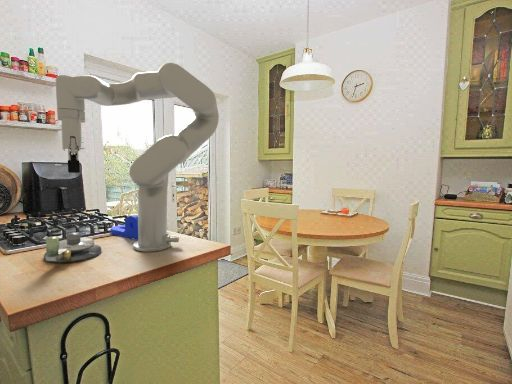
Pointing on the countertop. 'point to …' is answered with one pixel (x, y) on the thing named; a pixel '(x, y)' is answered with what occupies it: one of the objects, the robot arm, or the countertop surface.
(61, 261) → the post base
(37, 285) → the countertop surface
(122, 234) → the bracket
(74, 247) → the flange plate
